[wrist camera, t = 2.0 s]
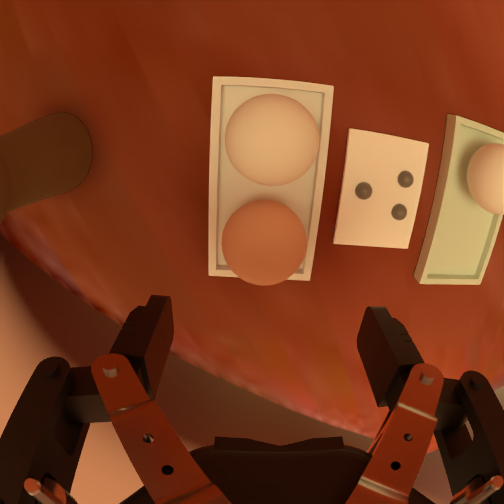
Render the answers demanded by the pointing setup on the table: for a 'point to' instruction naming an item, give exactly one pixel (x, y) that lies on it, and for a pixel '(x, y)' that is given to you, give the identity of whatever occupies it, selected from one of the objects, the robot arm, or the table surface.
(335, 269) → the table surface
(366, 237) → the card
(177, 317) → the table surface
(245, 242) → the ball
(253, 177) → the ball
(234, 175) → the egg tray
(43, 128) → the olive green waisted cylinder
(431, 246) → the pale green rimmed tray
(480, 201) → the ball
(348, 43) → the table surface
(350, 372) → the table surface
